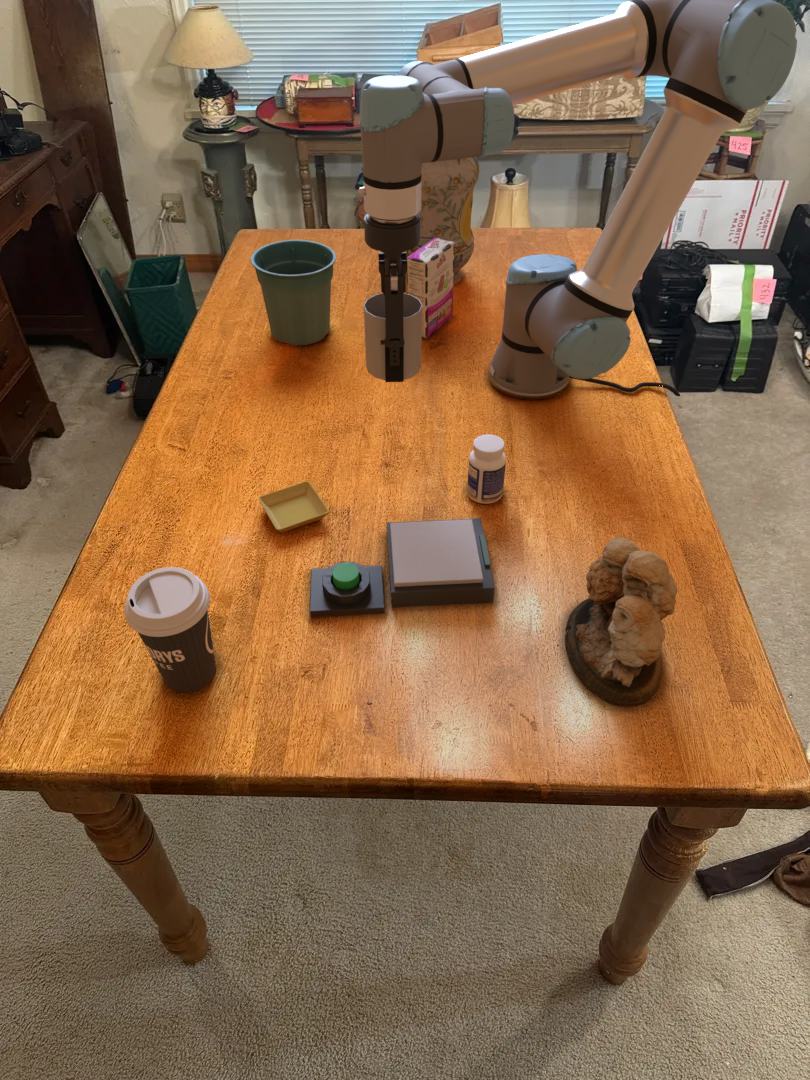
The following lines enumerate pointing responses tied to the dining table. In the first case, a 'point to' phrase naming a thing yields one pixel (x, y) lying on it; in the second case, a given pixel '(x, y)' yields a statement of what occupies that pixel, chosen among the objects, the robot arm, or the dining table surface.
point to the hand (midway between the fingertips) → (393, 364)
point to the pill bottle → (486, 469)
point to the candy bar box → (432, 282)
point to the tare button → (345, 576)
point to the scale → (439, 563)
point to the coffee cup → (174, 626)
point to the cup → (377, 332)
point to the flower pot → (296, 289)
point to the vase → (448, 206)
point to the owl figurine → (622, 624)
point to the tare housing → (346, 593)
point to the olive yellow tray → (293, 506)
